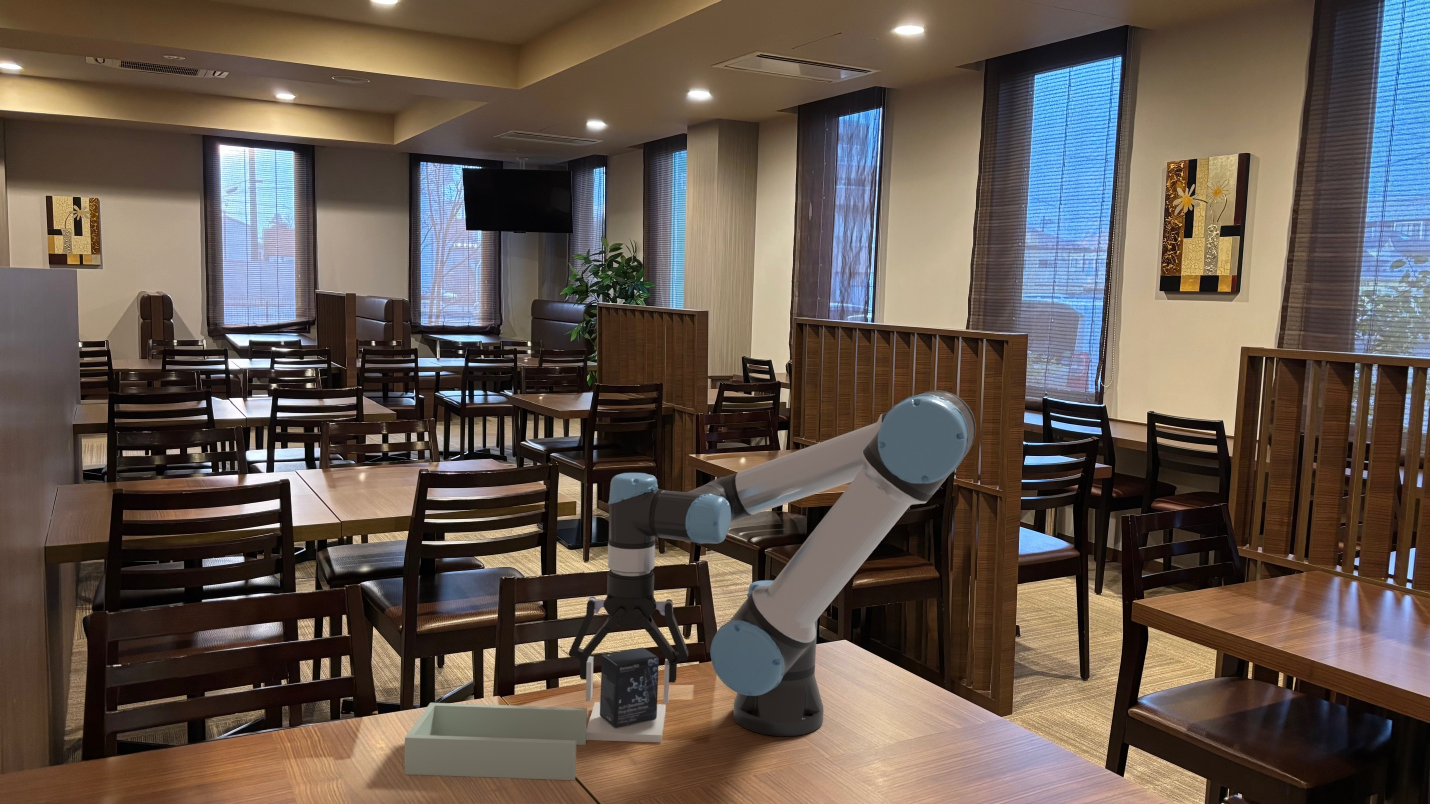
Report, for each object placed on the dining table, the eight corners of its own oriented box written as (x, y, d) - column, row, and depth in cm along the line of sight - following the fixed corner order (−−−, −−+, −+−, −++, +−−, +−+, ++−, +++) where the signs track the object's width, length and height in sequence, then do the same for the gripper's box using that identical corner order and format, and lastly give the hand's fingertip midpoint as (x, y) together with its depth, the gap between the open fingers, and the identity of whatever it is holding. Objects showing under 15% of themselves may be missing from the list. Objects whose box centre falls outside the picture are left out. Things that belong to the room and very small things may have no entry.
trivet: (665, 711, 167) (665, 704, 167) (661, 742, 155) (661, 735, 155) (594, 708, 167) (595, 701, 167) (585, 739, 155) (585, 732, 155)
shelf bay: (586, 741, 155) (587, 708, 154) (574, 780, 142) (575, 743, 142) (430, 736, 155) (430, 702, 154) (404, 774, 142) (404, 737, 142)
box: (615, 729, 157) (616, 664, 156) (599, 716, 161) (600, 653, 160) (658, 719, 161) (659, 656, 160) (641, 707, 166) (642, 645, 165)
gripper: (706, 566, 163) (702, 692, 165) (559, 561, 163) (557, 687, 165) (705, 578, 155) (701, 711, 157) (552, 573, 155) (549, 706, 157)
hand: (627, 699), depth 161 cm, fingers open, 12 cm apart
